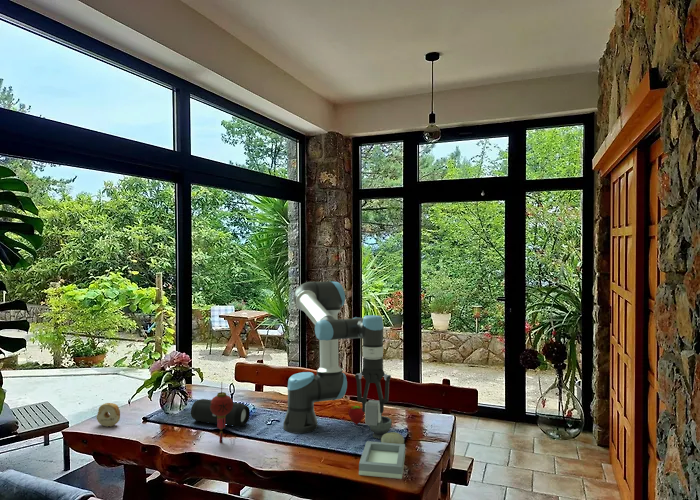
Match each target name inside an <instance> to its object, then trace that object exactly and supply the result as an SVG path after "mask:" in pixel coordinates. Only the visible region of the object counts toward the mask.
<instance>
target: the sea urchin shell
mask: <svg viewBox="0 0 700 500" xmlns="http://www.w3.org/2000/svg"><path fill="white" fill-rule="evenodd" d="M380 442H384V443H396V444H405V439H404V437H403V435H402V434H400V433H399V432H394V431H393V432H392V431H389V432H388V433H386V434H384V435H383V436H382V438H381V439H380Z"/></svg>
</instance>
